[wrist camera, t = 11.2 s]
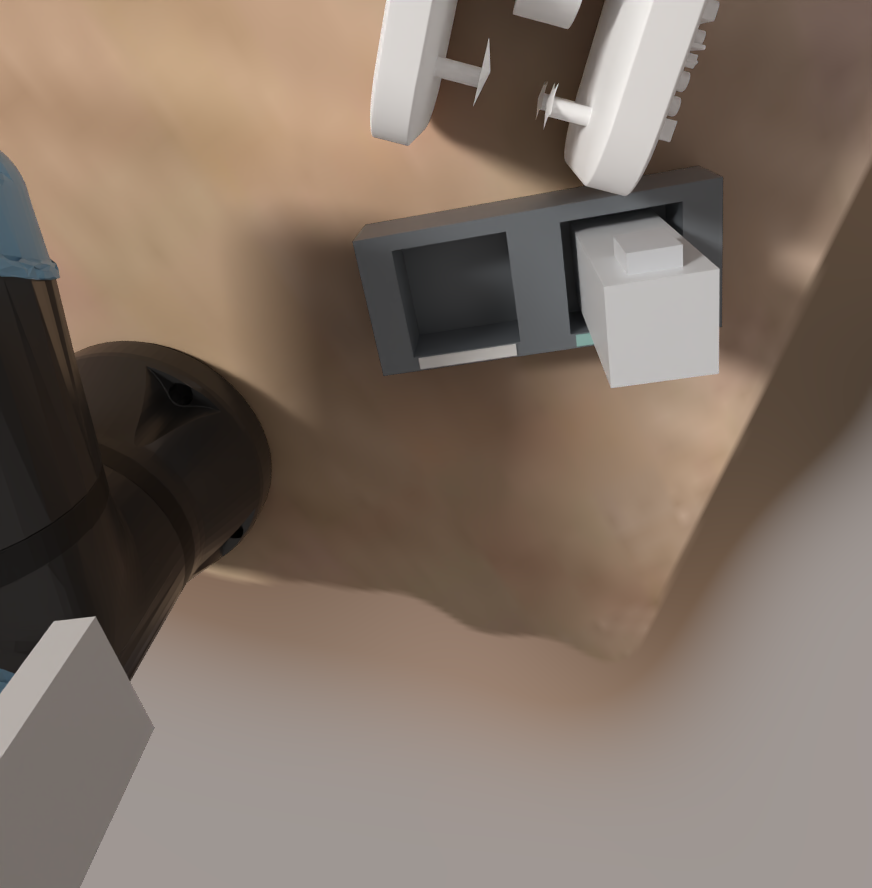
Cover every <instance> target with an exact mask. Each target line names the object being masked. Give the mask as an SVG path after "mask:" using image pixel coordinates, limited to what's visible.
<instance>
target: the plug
mask: <svg viewBox="0 0 872 888" xmlns="http://www.w3.org/2000/svg"><path fill="white" fill-rule="evenodd" d="M569 223H570V235H571V246H572V257H573V268H574V279H575V290H576V299H577V301H578V304H579V306H580V309H581V312H582V314H583V317H584V319H585V322H586V325H587V327H588V330H589V332H590V335H591V338H592V340H593V343H594V345H595V348H596V351H597V353H598V356H599V358H600V361H601V364H602V366H603V369H604V371H605V374H606V377H607V379H608V382H609V384H610V387H611V388H616V387H623V386H630V385H638V384H645V383H652V382H660V381H667V380H674V379H682V378H689V377H697V376H704V375H711V374H719V272H720V269H719V268H718V267H717V266H716V265H714V264H713V263H712V262H711V261H710V260H709V259H708V258H706V257H705V256H704V255H703V254H702V253H701V252H700V251H698V250H697V249H696V248H695V247H694V246H693V245H692V244H690V243H689V242H688V241H687V240H686V239H685V238H683V237H682V236H681V235H680V234H679V233H678V232H677V231H675V230H674V229H673V228H672V227H671V226H670V225H669V224H667V223H666V222H665V221H664V220H663V219H662V218H661V217H659V216H658V215H657V214H656V213H655V212H654V211H653V210H651V209H650V208H647V209H642V210H636V211H630V212H624V213H618V214H612V215H606V216H600V217H595V218H589V219H583V220H577V221H571V222H569Z"/></svg>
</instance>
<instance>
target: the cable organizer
mask: <svg viewBox="0 0 872 888" xmlns="http://www.w3.org/2000/svg"><path fill="white" fill-rule="evenodd" d="M457 2H458V0H386V6H385V12H384V18H383V24H382V30H381V36H380V41H379V47H378V53H377V59H376V65H375V72H374V79H373V86H372V96H371V109H370V126H371V133H372V136H373V137H375V138H379V139H383V140H387V141H391V142H395V143H399V144H403V145H406V146H408V145H410V144H411V143H412V142H413V141H414V140H415V139H416V138H417V137H418V136H419V135H420V134H421V133H422V132H423V131H424V130H425V128H426V127H427V125H428V123H429V121H430V118H431V116H432V113H433V109H434V106H435V103H436V99H437V95H438V91H439V87H440V83H441V78H442V79H446V80H450V81H454V82H458V83H461V84H465V85H469V86H473V87H477V91H476V96H475V100H474V104H475V102H476V100H477V98H478V96H479V94H480V92H481V90H482V88H483V86H484V84H485V82H486V80H487V77H488V75H489V73H490V47H489V39H488V44H487V48H486V52H485V57H484V61H483V65H482V67H478V66H474V65H470V64H466V63H463V62H459V61H455V60H451V59H448V58H446V55H447V50H448V45H449V40H450V36H451V31H452V26H453V21H454V16H455V12H456V7H457ZM581 2H582V0H515V4H514V9H513V15H517V16H521V17H524V18H528V19H532V20H535V21H539V22H543V23H547V24H550V25H554V26H558V27H561V28H565V29H569V28H570V26H571V25H572V23H573V21H574V19H575V17H576V15H577V12H578V10H579V8H580V5H581ZM719 4H720V3H719V1H715V0H605V1H604V5H603V8H602V12H601V15H600V18H599V22H598V25H597V29H596V32H595V35H594V39H593V42H592V45H591V49H590V52H589V56H588V59H587V62H586V66H585V69H584V72H583V76H582V79H581V83H580V86H579V89H578V93H577V96H576V100H575V101H572V100H568V99H565V98H561V97H557V96H555V93H556V90H557V87H558V85H557V86H556V88H555V83H554V86H553V88H552V91H551V93H550V94H546V93H545V89H546V86H547V83H548V82H547V83H546V85H545V82H544V85H543V87H542V90H541V92H540V94H539V97H538V103H537V112H536V118H537V115H538V112H539V109H540V110H543V111H545V120H544V127H545V124H546V121H547V118H548V117H552V118H556V119H559V120H563V121H567V122H569V126H568V131H567V136H566V142H565V150H564V159H565V162H566V163H567V164H568V166H569V167H570V168H571V169H572V171H573V172H574V173H575V174H576V175H577V177H578V178H579V179H580V180H581V182H582V183H583V184H584V185H585V186H587V187H591V188H595V189H599V190H603V191H606V192H610V193H614V194H618V195H622V196H627V195H628V194H630V193H631V192H632V190H633V189H634V188H635V187H636V185H637V184H638V182H639V180H640V179H641V177H642V175H643V173H644V171H645V170H646V168H647V166H648V163H649V161H650V159H651V157H652V155H653V152H654V150H655V148H656V145H657V143H658V140H663V141H667V142H670V141H671V138H672V135H673V133H674V130H675V127H676V124H677V122H678V121H675V120H671V119H668V118H667V115H668V116H672V117H673V116H675V115H676V114H677V112H678V110H679V108H680V105H681V98H680V97H677V96H674V95H675V93H676V91H678V92H683V91H684V90H685V89H686V87H687V85H688V83H689V80H690V73H689V72H687V71H683V70H684V67H688V68H692V69H693V68H694V66H695V65H696V64H698V61H697V58H698V55H696V54H693V53H690V51H696V50H705V47H706V45H702V43H703V41H704V39H705V36H706V31H703V30H700V29H698V28H699V25H700V24H703V23H708V22H713V21H714V20H715V17H716V15H717V12H718V9H719ZM474 104H473V106H474ZM543 130H544V129H543Z"/></svg>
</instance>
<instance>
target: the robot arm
mask: <svg viewBox="0 0 872 888" xmlns="http://www.w3.org/2000/svg"><path fill="white" fill-rule="evenodd" d="M57 278H60V276H59V270H58V267H57V265H56V263H55V262H54V261H52V260H51V259H50V258H49V255H48V252H47V249H46V246H45V243H44V240H43V237H42V234H41V231H40V228H39V225H38V222H37V219H36V216H35V213H34V210H33V207H32V204H31V200H30V197H29V194H28V191H27V187H26V184H25V182H24V180H23V178H22V176H21V174H20V172H19V171H18V169H17V168H16V166H15V165H14V164H13V162H12V161H11V160H10V159H9V158H8V157H7V156H6V155H5V154H4V153H3V152H1V151H0V888H80V886H81V884H82V882H83V880H84V878H85V875H86V873H87V871H88V869H89V867H90V865H91V863H92V860H93V858H94V856H95V854H96V852H97V849H98V848H99V845H100V843H101V841H102V839H103V837H104V835H105V832H106V830H107V828H108V826H109V824H110V822H111V820H112V818H113V815H114V813H115V811H116V809H117V807H118V805H119V803H120V801H121V798H122V796H123V794H124V792H125V790H126V788H127V785H128V783H129V781H130V779H131V777H132V775H133V773H134V770H135V768H136V766H137V764H138V762H139V760H140V758H141V756H142V753H143V751H144V749H145V747H146V745H147V743H148V741H149V738H150V736H151V734H152V732H153V730H154V726H153V724H152V722H151V720H150V718H149V716H148V715H147V713H146V711H145V709H144V707H143V705H142V703H141V701H140V700H139V698H138V696H137V694H136V692H135V690H134V688H133V686H132V684H131V682H130V681H131V679H132V677H133V676H134V674H135V672H136V670H137V669H138V667H139V665H140V663H141V661H142V660H143V658H144V656H145V655H146V652H147V651H148V649H149V648H150V646H151V644H152V642H153V641H154V639H155V637H156V635H157V634H158V632H159V630H160V628H161V627H162V625H163V623H164V621H165V620H166V618H167V616H168V614H169V613H170V611H171V609H172V608H173V606H174V604H175V602H176V600H177V599H178V597H179V595H180V593H181V592H182V590H183V588H184V586H185V585H186V583H187V582H188V581H190V580H191V579H192V578H194V577H195V576H196V575H198V574H199V573H201V572H202V571H203V570H205V569H206V568H208V567H209V566H210V565H212V564H213V563H214V562H216V561H217V560H219V559H220V558H221V557H222V556H224V555H225V554H227V553H228V552H229V551H231V550H232V549H233V548H234V547H236V546H237V545H238V544H239V543H240V542H241V541H242V539H243V538H244V537H245V536H246V535H247V533H248V532H249V531H250V529H251V528H252V526H253V524H254V522H255V521H256V519H257V517H258V515H259V513H260V511H261V509H262V507H263V505H264V503H265V501H266V498H267V495H268V492H269V488H270V482H271V457H270V452H269V447H268V443H267V440H266V437H265V434H264V432H263V429H262V427H261V425H260V423H259V421H258V419H257V418H256V416H255V414H254V413H253V411H252V409H251V408H250V407H249V405H248V404H247V402H246V401H245V400H244V399H243V397H242V396H241V395H240V394H239V393H238V392H237V391H236V390H235V389H234V388H233V387H232V386H231V385H230V384H229V383H228V382H227V381H226V380H225V379H224V378H222V377H221V376H220V375H219V374H217V373H216V372H215V371H213V370H212V369H210V368H209V367H207V366H206V365H204V364H203V363H201V362H199V361H197V360H195V359H194V358H192V357H190V356H187V355H185V354H183V353H181V352H178V351H175V350H173V349H170V348H166V347H163V346H159V345H155V344H150V343H144V342H135V341H116V342H107V343H102V344H97V345H94V346H90V347H87V348H85V349H82V350H80V351H78V352H76V353H74V351H73V347H72V343H71V339H70V335H69V330H68V326H67V322H66V318H65V314H64V310H63V306H62V302H61V298H60V294H59V289H58V285H57V281H56V279H57Z"/></svg>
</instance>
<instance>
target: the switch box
mask: <svg viewBox="0 0 872 888" xmlns="http://www.w3.org/2000/svg"><path fill="white" fill-rule="evenodd" d="M647 208H650V209H651V210H653V211H654V212H655V213H656V214H657V215H658V216H659V217H661V218H662V219H663V220H664V221H665V222H666V223H667V224H669V225H670V226H671V227H672V228H673V229H674V230H675V231H677V232H678V233H679V234H680V235H681V236H682V237H683V238H685V239H686V240H687V241H688V242H689V243H690V244H692V245H693V246H694V247H695V248H696V249H697V250H698V251H700V252H701V253H702V254H703V255H704V256H705V257H706V258H708V259H709V260H710V261H711V262H712V263H713V264H714V265H716V266H717V267H718V268H719V269H720V272H719V327H722V242H723V177H722V176H720V175H718V174H716V173H713V172H711V171H709V170H707V169H705V168H703V167H701V166H695V167H689V168H683V169H678V170H672V171H666V172H661V173H655V174H649V175H644V176H642V177H641V179H640V180H639V182H638V184H637V185H636V187H635V188H634V189H633V190H632V192H631V193H630V194H628V195H627V196H622V195H618V194H614V193H610V192H606V191H603V190H599V189H595V188H591V187H587V186H582V187H576V188H570V189H565V190H559V191H553V192H548V193H542V194H536V195H531V196H525V197H520V198H514V199H508V200H503V201H497V202H491V203H486V204H480V205H474V206H469V207H463V208H457V209H452V210H446V211H440V212H435V213H429V214H423V215H418V216H412V217H407V218H401V219H395V220H390V221H384V222H378V223H373V224H367V225H365V226H364V227H363V228H362V230H361V231H360V232H359V234H358V235H357V236H356V237H355V239H354V240H353V241H352V242H353V246H354V250H355V255H356V259H357V263H358V268H359V272H360V276H361V281H362V285H363V289H364V294H365V298H366V302H367V306H368V311H369V315H370V319H371V324H372V328H373V332H374V337H375V341H376V345H377V350H378V354H379V358H380V362H381V367H382V371H383V375H384V376H387V375H394V374H401V373H407V372H414V371H421V370H428V369H435V368H442V367H449V366H456V365H463V364H469V363H476V362H483V361H490V360H497V359H504V358H511V357H518V356H525V355H531V354H538V353H545V352H552V351H559V350H566V349H573V348H580V347H587V346H593V345H594V343H593V340H592V338H591V335H590V332H589V330H588V327H587V325H586V322H585V319H584V317H583V314H582V312H581V309H580V306H579V304H578V301H577V299H576V290H575V279H574V268H573V257H572V246H571V235H570V223H569V222H571V221H577V220H583V219H589V218H595V217H600V216H606V215H612V214H618V213H624V212H630V211H636V210H642V209H647Z"/></svg>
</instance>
